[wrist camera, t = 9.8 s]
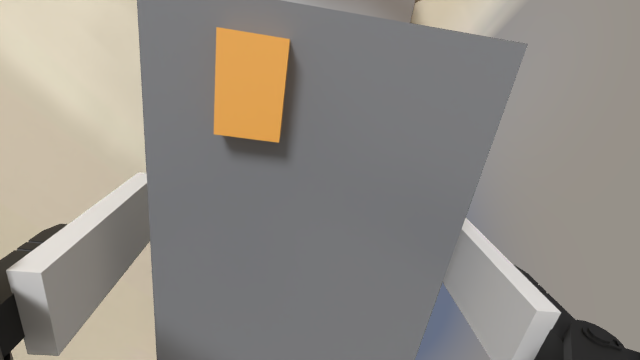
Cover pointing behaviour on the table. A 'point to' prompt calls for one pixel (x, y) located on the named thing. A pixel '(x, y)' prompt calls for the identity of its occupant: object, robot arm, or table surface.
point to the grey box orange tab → (308, 174)
